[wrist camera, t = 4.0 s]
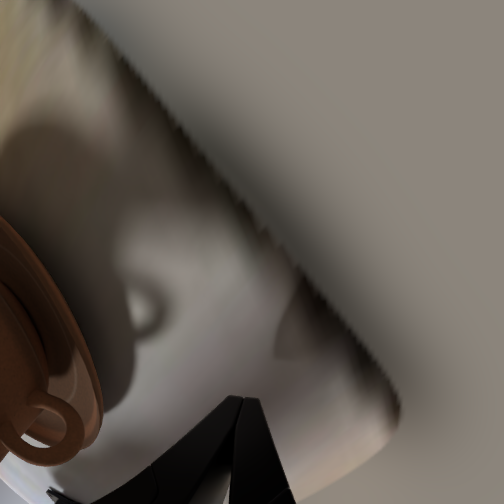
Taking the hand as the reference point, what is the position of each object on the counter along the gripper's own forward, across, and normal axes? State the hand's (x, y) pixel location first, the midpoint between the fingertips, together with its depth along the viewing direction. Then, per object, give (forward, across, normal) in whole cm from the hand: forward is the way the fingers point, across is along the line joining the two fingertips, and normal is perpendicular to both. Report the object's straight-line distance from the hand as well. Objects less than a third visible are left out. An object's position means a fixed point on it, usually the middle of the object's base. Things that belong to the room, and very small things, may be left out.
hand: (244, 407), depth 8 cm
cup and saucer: (+2, +11, 0) cm, 11 cm away
